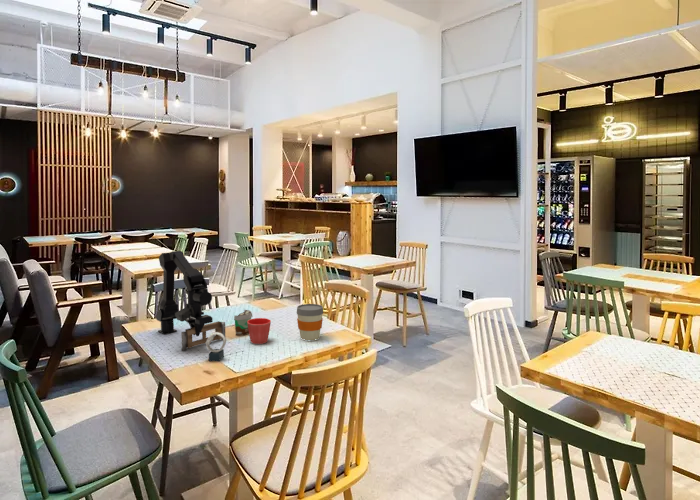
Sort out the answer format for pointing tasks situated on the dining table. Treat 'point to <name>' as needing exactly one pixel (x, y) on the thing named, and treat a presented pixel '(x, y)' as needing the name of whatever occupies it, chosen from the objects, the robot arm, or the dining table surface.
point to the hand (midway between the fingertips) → (196, 335)
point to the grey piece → (184, 341)
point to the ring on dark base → (215, 353)
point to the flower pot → (259, 330)
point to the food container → (242, 322)
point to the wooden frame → (203, 334)
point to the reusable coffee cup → (309, 321)
